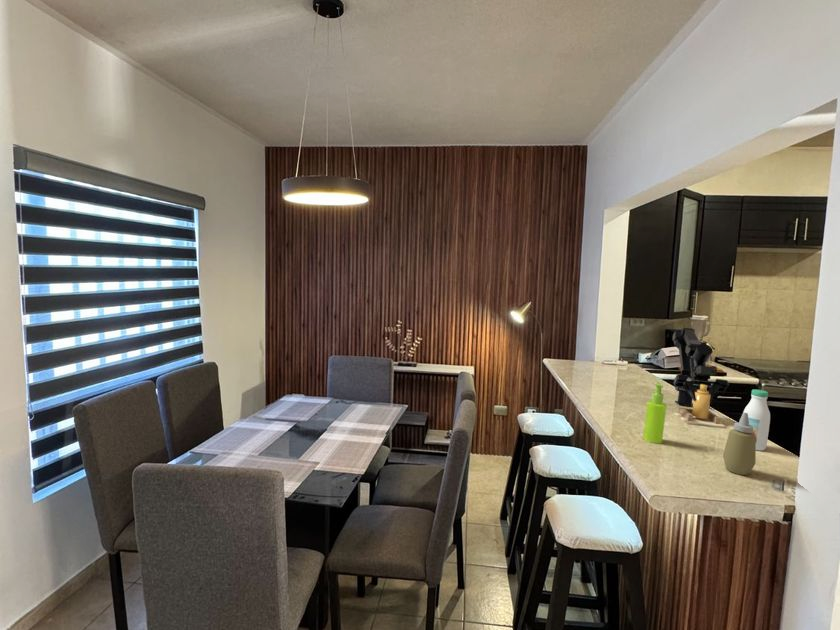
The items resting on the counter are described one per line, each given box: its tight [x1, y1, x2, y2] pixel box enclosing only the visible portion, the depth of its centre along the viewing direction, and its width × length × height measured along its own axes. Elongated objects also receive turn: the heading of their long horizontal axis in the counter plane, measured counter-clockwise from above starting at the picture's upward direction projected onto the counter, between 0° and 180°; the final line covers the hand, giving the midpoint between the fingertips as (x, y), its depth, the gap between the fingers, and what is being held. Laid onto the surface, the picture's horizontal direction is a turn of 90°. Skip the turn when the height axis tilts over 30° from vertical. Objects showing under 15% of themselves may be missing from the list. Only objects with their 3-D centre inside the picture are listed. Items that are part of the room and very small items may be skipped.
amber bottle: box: [691, 384, 711, 418], centre depth 186 cm, size 6×6×13 cm
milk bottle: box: [742, 388, 771, 452], centre depth 159 cm, size 8×8×20 cm
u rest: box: [674, 407, 727, 429], centre depth 186 cm, size 14×14×3 cm
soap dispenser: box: [642, 382, 667, 444], centre depth 160 cm, size 6×7×20 cm
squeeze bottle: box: [722, 412, 757, 476], centre depth 137 cm, size 8×8×18 cm
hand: (702, 401), depth 184 cm, fingers closed on amber bottle, 5 cm apart
